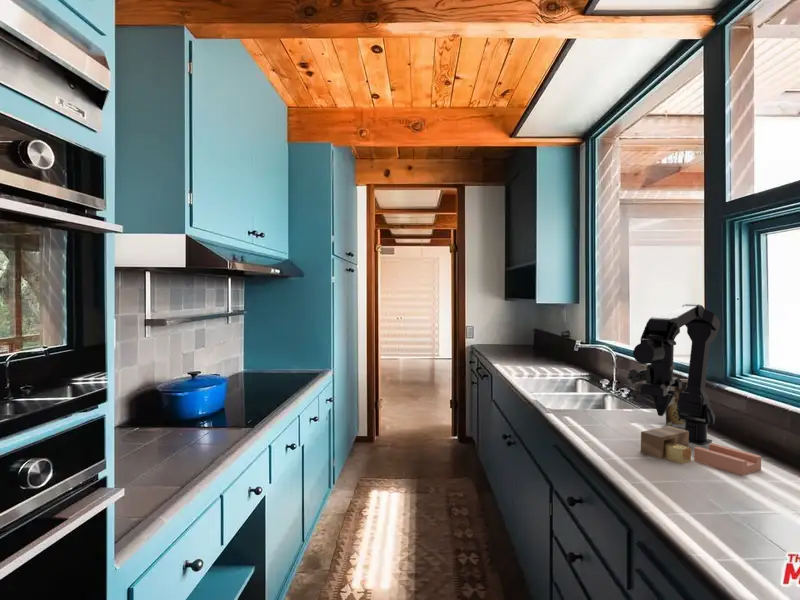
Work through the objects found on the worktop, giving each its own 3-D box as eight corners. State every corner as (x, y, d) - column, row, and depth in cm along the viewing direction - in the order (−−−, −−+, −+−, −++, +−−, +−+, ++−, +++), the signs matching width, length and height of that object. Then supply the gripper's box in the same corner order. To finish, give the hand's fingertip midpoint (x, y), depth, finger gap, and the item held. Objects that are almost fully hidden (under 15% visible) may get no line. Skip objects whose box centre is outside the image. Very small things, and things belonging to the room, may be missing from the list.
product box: (696, 425, 165) (697, 379, 165) (695, 430, 160) (696, 382, 159) (666, 421, 170) (667, 376, 170) (664, 426, 165) (665, 379, 164)
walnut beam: (668, 445, 144) (668, 425, 143) (688, 451, 138) (688, 431, 138) (640, 452, 137) (641, 431, 137) (660, 458, 132) (661, 437, 132)
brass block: (640, 451, 139) (641, 437, 139) (649, 449, 141) (649, 435, 141) (682, 464, 129) (682, 450, 128) (690, 462, 131) (691, 447, 130)
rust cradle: (712, 455, 135) (713, 443, 135) (761, 469, 125) (761, 456, 125) (694, 460, 131) (694, 447, 131) (742, 475, 120) (742, 461, 120)
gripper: (642, 355, 148) (641, 405, 148) (620, 361, 134) (619, 416, 135) (683, 359, 140) (681, 412, 140) (663, 366, 127) (662, 424, 127)
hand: (660, 415), depth 136 cm, fingers closed
